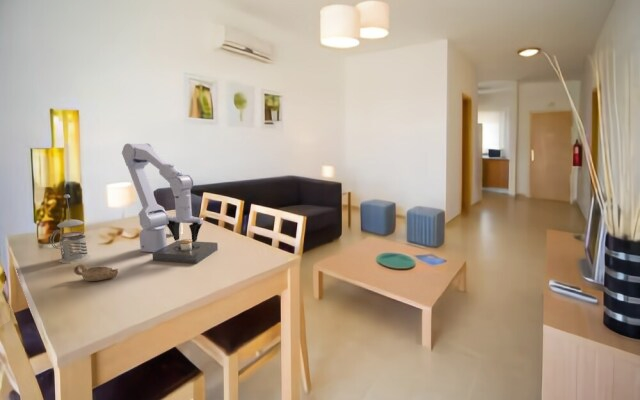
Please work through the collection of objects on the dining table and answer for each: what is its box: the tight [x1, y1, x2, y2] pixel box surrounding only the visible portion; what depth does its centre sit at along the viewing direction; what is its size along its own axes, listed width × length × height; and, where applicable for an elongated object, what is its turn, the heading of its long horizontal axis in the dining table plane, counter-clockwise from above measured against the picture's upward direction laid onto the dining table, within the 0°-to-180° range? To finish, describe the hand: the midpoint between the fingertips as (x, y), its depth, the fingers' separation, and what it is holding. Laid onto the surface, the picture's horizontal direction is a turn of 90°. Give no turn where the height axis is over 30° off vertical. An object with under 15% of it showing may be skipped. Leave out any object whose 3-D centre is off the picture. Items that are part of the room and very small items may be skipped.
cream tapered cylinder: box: [168, 223, 184, 236], centre depth 154 cm, size 7×7×7 cm
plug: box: [179, 238, 192, 250], centre depth 125 cm, size 4×4×6 cm
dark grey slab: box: [151, 239, 219, 265], centre depth 125 cm, size 18×16×3 cm
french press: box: [49, 193, 92, 264], centre depth 118 cm, size 10×12×25 cm
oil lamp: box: [73, 264, 119, 282], centre depth 103 cm, size 13×8×5 cm, turn 90°
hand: (185, 240), depth 125 cm, fingers open, 7 cm apart
